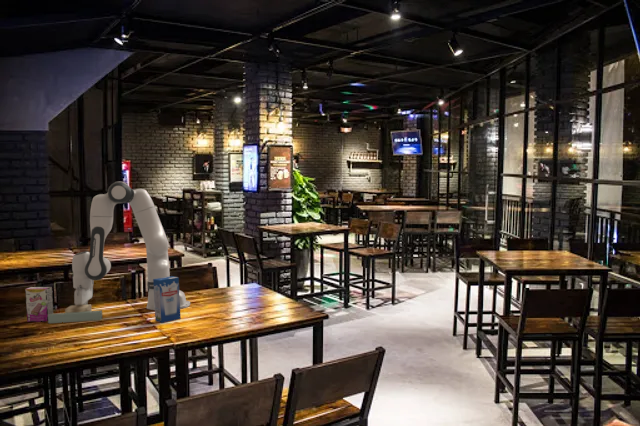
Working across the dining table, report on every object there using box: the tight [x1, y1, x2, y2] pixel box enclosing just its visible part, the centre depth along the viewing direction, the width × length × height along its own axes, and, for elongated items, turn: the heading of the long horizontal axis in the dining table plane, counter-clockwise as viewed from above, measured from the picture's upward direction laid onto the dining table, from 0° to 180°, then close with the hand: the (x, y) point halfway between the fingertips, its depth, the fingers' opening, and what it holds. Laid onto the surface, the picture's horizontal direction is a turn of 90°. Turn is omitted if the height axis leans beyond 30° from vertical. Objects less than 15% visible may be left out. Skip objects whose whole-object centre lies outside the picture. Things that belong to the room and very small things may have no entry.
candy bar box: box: [24, 286, 54, 323], centre depth 263 cm, size 11×5×16 cm, turn 84°
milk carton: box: [153, 275, 182, 324], centre depth 256 cm, size 10×6×20 cm, turn 134°
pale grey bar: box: [47, 310, 103, 324], centre depth 261 cm, size 24×3×4 cm, turn 98°
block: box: [64, 303, 93, 313], centre depth 266 cm, size 10×8×6 cm
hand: (84, 310), depth 275 cm, fingers closed
